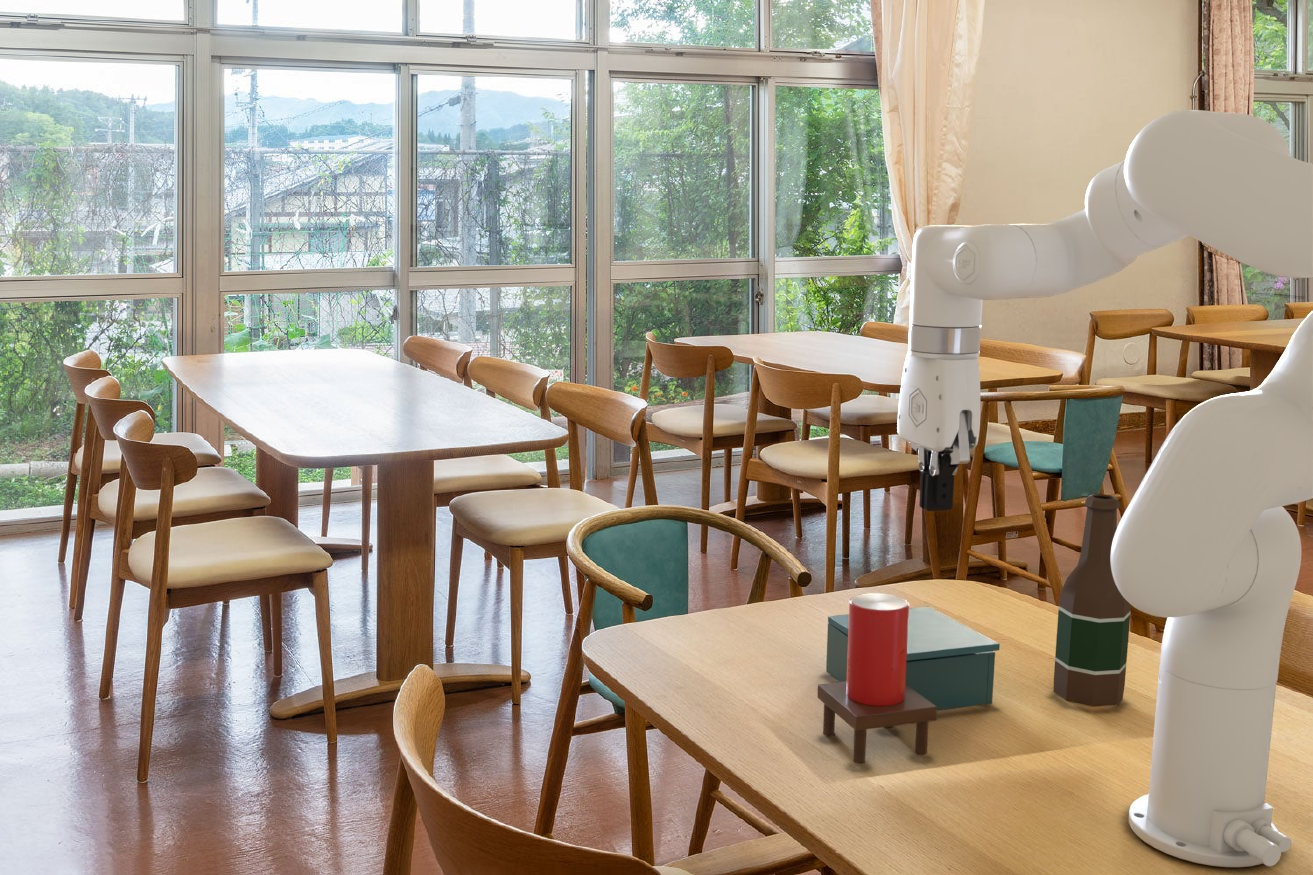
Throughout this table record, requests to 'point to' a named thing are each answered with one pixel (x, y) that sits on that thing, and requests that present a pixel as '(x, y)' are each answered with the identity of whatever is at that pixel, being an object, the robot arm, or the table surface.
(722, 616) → the table surface
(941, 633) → the lid
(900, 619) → the soda can
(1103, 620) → the beer bottle
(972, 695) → the teal open box
